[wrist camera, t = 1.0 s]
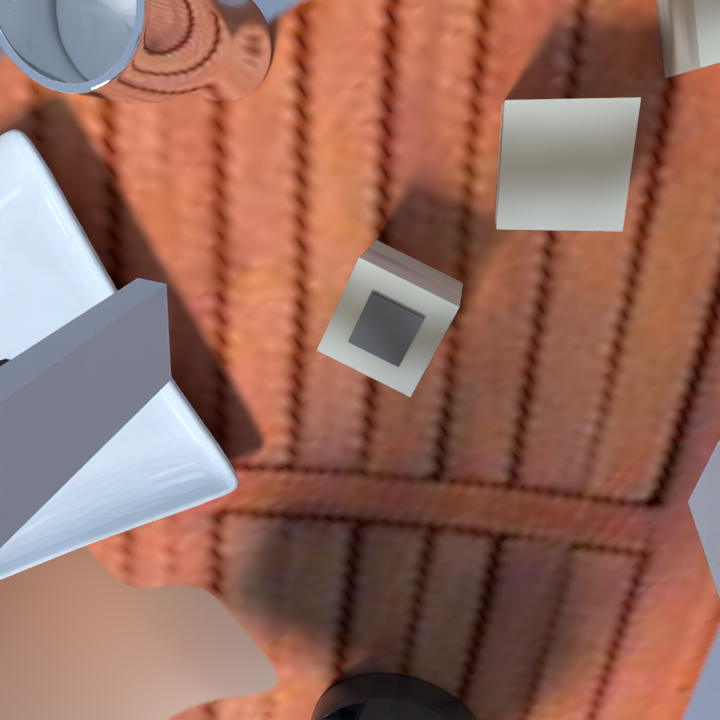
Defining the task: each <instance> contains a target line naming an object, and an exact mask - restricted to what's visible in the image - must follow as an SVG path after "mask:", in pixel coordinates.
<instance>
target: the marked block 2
mask: <svg viewBox="0 0 720 720" xmlns="http://www.w3.org/2000/svg"><path fill="white" fill-rule="evenodd" d="M656 2H657V11H658V19H659V28H660V37H661V46H662V54H663V63H664V72H665V78H668V77H671V76H675V75H678V74H682V73H685V72H689V71H692V70H696V69H699V68H703V67H706V66H710V65H713V64H717V63H720V0H656Z"/></svg>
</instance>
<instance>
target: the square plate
mask: <svg viewBox="0 0 720 720" xmlns="http://www.w3.org/2000/svg"><path fill="white" fill-rule="evenodd" d="M117 291H118V290H117V289H116V287H115V285H114V283H113V282H112V280H111V278H110V276H109V275H108V273H107V271H106V269H105V268H104V266H103V264H102V262H101V260H100V258H99V257H98V255H97V253H96V251H95V250H94V248H93V246H92V244H91V243H90V241H89V239H88V237H87V235H86V233H85V231H84V229H83V228H82V226H81V224H80V223H79V221H78V220H77V218H76V216H75V214H74V212H73V210H72V208H71V207H70V205H69V203H68V201H67V200H66V198H65V196H64V194H63V192H62V190H61V189H60V187H59V185H58V183H57V182H56V180H55V178H54V176H53V174H52V172H51V171H50V169H49V168H48V166H47V164H46V163H45V161H44V160H43V158H42V157H41V155H40V153H39V152H38V150H37V149H36V147H35V146H34V144H33V143H32V141H31V140H30V139H29V138H28V137H27V136H26V135H25V134H24V133H23V132H22V131H20V130H10V131H7V132H5V133H4V134H2V135H1V136H0V360H2V359H5V358H6V359H10V360H11V359H13V358H14V357H16V356H17V355H19V354H20V353H22V352H24V351H25V350H27V349H28V348H30V347H31V346H33V345H34V344H36V343H38V342H39V341H41V340H42V339H44V338H45V337H47V336H48V335H50V334H52V333H53V332H55V331H56V330H58V329H59V328H61V327H62V326H64V325H65V324H67V323H69V322H70V321H72V320H73V319H75V318H76V317H78V316H79V315H81V314H83V313H84V312H86V311H87V310H89V309H90V308H92V307H93V306H95V305H97V304H98V303H100V302H101V301H103V300H104V299H106V298H107V297H109V296H110V295H112V294H114V293H115V292H117ZM238 484H239V480H238V477H237V475H236V473H235V470H234V468H233V466H232V465H231V463H230V462H229V460H228V458H227V456H226V455H225V454H224V452H223V450H222V449H221V447H220V446H219V444H218V443H217V442H216V440H215V439H214V437H213V436H212V434H211V433H210V431H209V430H208V428H207V427H206V426H205V424H204V423H203V421H202V420H201V419H200V417H199V416H198V414H197V413H196V411H195V410H194V408H193V407H192V406H191V404H190V403H189V401H188V400H187V399H186V397H185V396H184V394H183V393H182V391H181V390H180V389H179V387H178V386H177V384H176V382H175V381H174V379H173V378H172V376H171V380H170V381H169V382H168V383H167V384H166V385H165V386H164V387H163V388H162V389H161V390H160V391H159V392H158V393H157V394H156V395H155V396H154V397H153V398H152V399H151V400H150V401H149V402H148V403H147V404H146V405H145V406H144V407H143V408H142V409H141V410H140V411H139V412H138V413H137V414H136V415H135V416H134V417H133V418H132V419H131V420H130V421H129V422H128V423H127V424H126V425H125V426H124V427H123V428H122V429H121V430H120V431H119V432H118V433H117V434H116V435H115V436H114V437H112V438H111V439H110V440H109V441H108V442H107V443H106V444H105V445H104V446H103V447H102V448H101V449H100V450H99V451H98V452H97V453H96V454H95V455H94V456H93V457H92V458H91V459H90V460H89V461H88V462H87V463H86V464H85V465H84V466H83V467H82V468H81V469H80V470H79V471H78V472H77V473H76V474H75V475H74V476H73V477H72V478H71V479H70V480H69V481H68V482H67V483H66V484H65V485H64V486H63V487H62V488H61V489H60V490H59V491H58V492H57V493H56V494H55V495H54V496H53V497H52V498H51V499H50V500H49V501H48V502H47V503H46V504H45V505H44V506H43V507H42V508H41V509H40V510H39V511H38V512H36V513H35V514H34V515H33V516H32V517H31V518H30V519H29V520H28V521H27V522H26V523H25V524H24V525H23V526H22V527H21V528H20V529H19V530H18V531H17V532H16V533H15V534H14V535H13V536H12V537H11V538H10V539H9V540H8V541H7V542H6V543H5V544H4V545H3V546H2V547H1V548H0V579H3V578H5V577H8V576H11V575H13V574H16V573H19V572H21V571H23V570H26V569H29V568H31V567H33V566H36V565H38V564H40V563H43V562H46V561H48V560H51V559H53V558H55V557H58V556H61V555H63V554H65V553H68V552H70V551H73V550H76V549H78V548H81V547H84V546H87V545H89V544H92V543H94V542H97V541H100V540H102V539H105V538H108V537H111V536H113V535H116V534H119V533H122V532H125V531H127V530H130V529H133V528H136V527H139V526H141V525H144V524H147V523H150V522H153V521H155V520H158V519H161V518H164V517H168V516H170V515H173V514H176V513H178V512H181V511H184V510H187V509H190V508H192V507H195V506H198V505H201V504H203V503H206V502H208V501H211V500H213V499H216V498H219V497H222V496H224V495H226V494H229V493H231V492H232V491H234V490H235V489H236V488H237V486H238Z"/></svg>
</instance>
